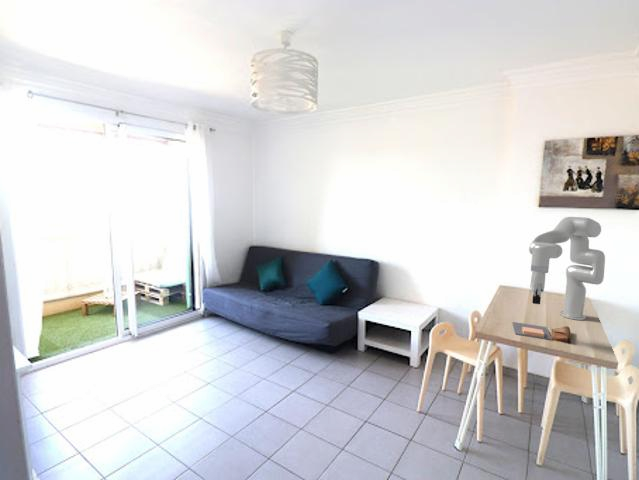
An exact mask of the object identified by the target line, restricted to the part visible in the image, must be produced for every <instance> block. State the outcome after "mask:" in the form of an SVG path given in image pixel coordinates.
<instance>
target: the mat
mask: <svg viewBox="0 0 639 480" xmlns="http://www.w3.org/2000/svg"><path fill="white" fill-rule="evenodd" d="M511 323H512V326H513V331H514V334H515V335H518V336H521V337H522V336H523V337H528V338H535V339H540V340H541V339H542V340H547V341H553V340H552V338H551V336H552V335H551V334H550V332H549V331H548V328H547V326H541V325H535V324H528V323H522V322H518V321H517V322H516V321H512V322H511ZM522 327H528V328H534V329H541V330H543V332H544V338H543V337H537V336H531V335H525V334H523V331H522Z"/></svg>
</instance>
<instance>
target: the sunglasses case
mask: <svg viewBox="0 0 639 480" xmlns="http://www.w3.org/2000/svg"><path fill="white" fill-rule="evenodd" d="M571 332H572V331H571V328H570V327H569V326H568V325H565V326H562V327H558V328H552V329H551V335H550V336H551V338H552V340H551V341H555V342H559V343H564V344H568V345H570V344H571V343H572V335H571V334H572V333H571Z"/></svg>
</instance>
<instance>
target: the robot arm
mask: <svg viewBox="0 0 639 480" xmlns="http://www.w3.org/2000/svg"><path fill="white" fill-rule="evenodd" d="M601 232H602V226H601V224H600V223H599V222H598V221H596V220H595V219H592V218H589V217H583V216H577V217H576V216H565V217H564V218H562V219H561V220H560V221H559V222H558V223H557V225H556V226H555V227H554V229H552V230H549V231H546V232H544V233H542V234H539V235H537V236H536V237H535V238H534V239H533V240H532V242H531V243H530V245H529V247H528V251H529V254H530V255H531V263H530V265H531V266H530V272H531V277H530V279H531V280H530V290H531V292H533V294H532V302H531V303H532V304H535V305H540V304H541V300H542V299H541V298H542V297H541V296H542V293H544V291H545V284H546V274H549V269H550V259H558V258H559V257H561V256H562V255H563V248H562V246H561V245H560V244H563V243H566V242H568V241H570V247H569V249H570V250H569V259H570V262H571V263H573V264H571V265H569V266H567V267H566V269H565V276H566V285H565V286H566V287H565V293H564V301H563V310H562V311H560V312H559V315H560V316H562V317H563V318H567V319H569V320H570V319H571V320H574V321H575V320H576V321H585V320H587V319H586V318H587V316H585V315H584V310H585V309H584V308H585V302H586V293H587V289H586V286H585V283H586V284H590V285H595V286H596V285H601V284H602V283H603V282H604V278H605V277H604V276H605V265H606V255H605V253H604V252H603V251H602V250H600V249H595V248H594V249H592V248H590V239H589V238H598V237H599V235H600V234H601Z"/></svg>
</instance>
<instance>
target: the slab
mask: <svg viewBox="0 0 639 480" xmlns="http://www.w3.org/2000/svg"><path fill="white" fill-rule="evenodd" d="M522 331H523V334H525V335H531V336H537V337H543V338H544V332H543V330H541V329H534V328H528V327H522Z"/></svg>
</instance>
